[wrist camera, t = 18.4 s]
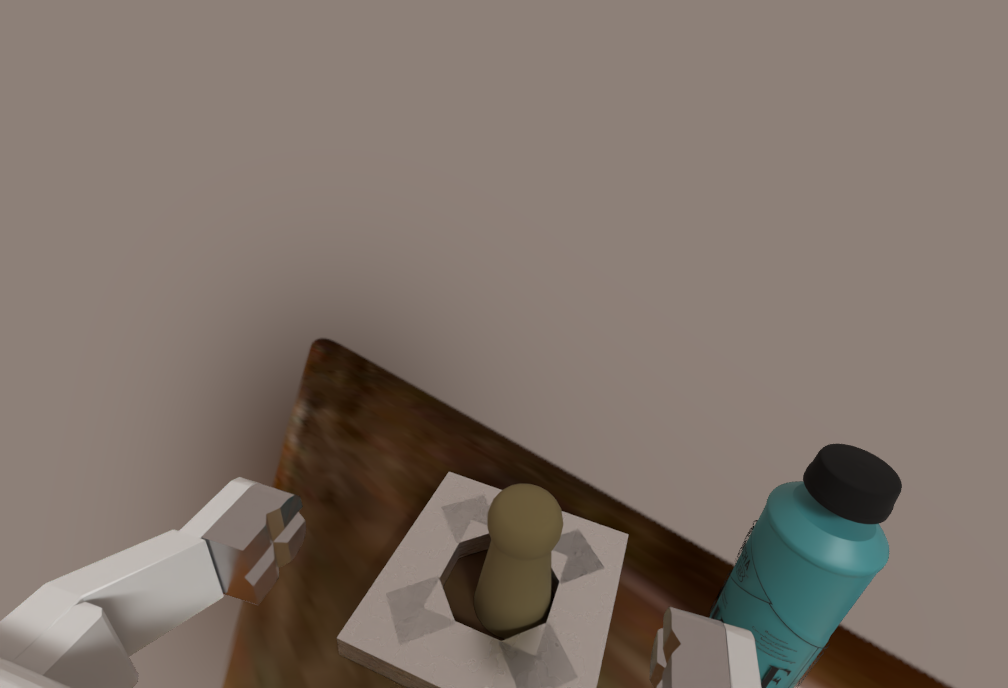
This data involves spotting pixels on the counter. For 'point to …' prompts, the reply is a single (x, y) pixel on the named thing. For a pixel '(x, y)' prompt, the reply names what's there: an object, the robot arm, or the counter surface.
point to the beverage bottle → (810, 560)
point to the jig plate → (465, 651)
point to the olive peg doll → (518, 560)
